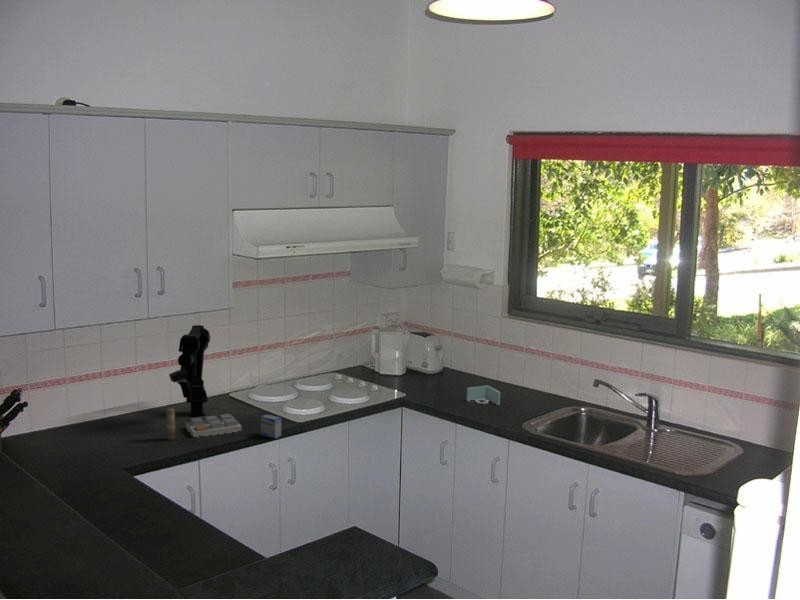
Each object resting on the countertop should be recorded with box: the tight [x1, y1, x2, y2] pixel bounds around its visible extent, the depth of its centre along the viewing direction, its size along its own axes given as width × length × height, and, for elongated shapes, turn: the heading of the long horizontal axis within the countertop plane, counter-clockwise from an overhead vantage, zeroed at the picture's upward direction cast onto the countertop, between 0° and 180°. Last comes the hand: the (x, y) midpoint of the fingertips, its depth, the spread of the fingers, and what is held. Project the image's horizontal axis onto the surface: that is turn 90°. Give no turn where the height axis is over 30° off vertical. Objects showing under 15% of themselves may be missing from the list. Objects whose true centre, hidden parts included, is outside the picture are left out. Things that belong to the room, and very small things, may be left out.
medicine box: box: [260, 414, 282, 440], centre depth 357 cm, size 8×4×9 cm, turn 62°
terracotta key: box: [194, 425, 207, 432], centre depth 356 cm, size 4×4×3 cm
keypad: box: [185, 413, 243, 438], centre depth 362 cm, size 13×21×5 cm, turn 118°
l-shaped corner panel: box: [466, 385, 501, 406], centre depth 411 cm, size 12×12×8 cm
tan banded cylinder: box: [165, 408, 176, 441], centre depth 348 cm, size 4×4×13 cm
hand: (188, 399), depth 363 cm, fingers open, 9 cm apart
